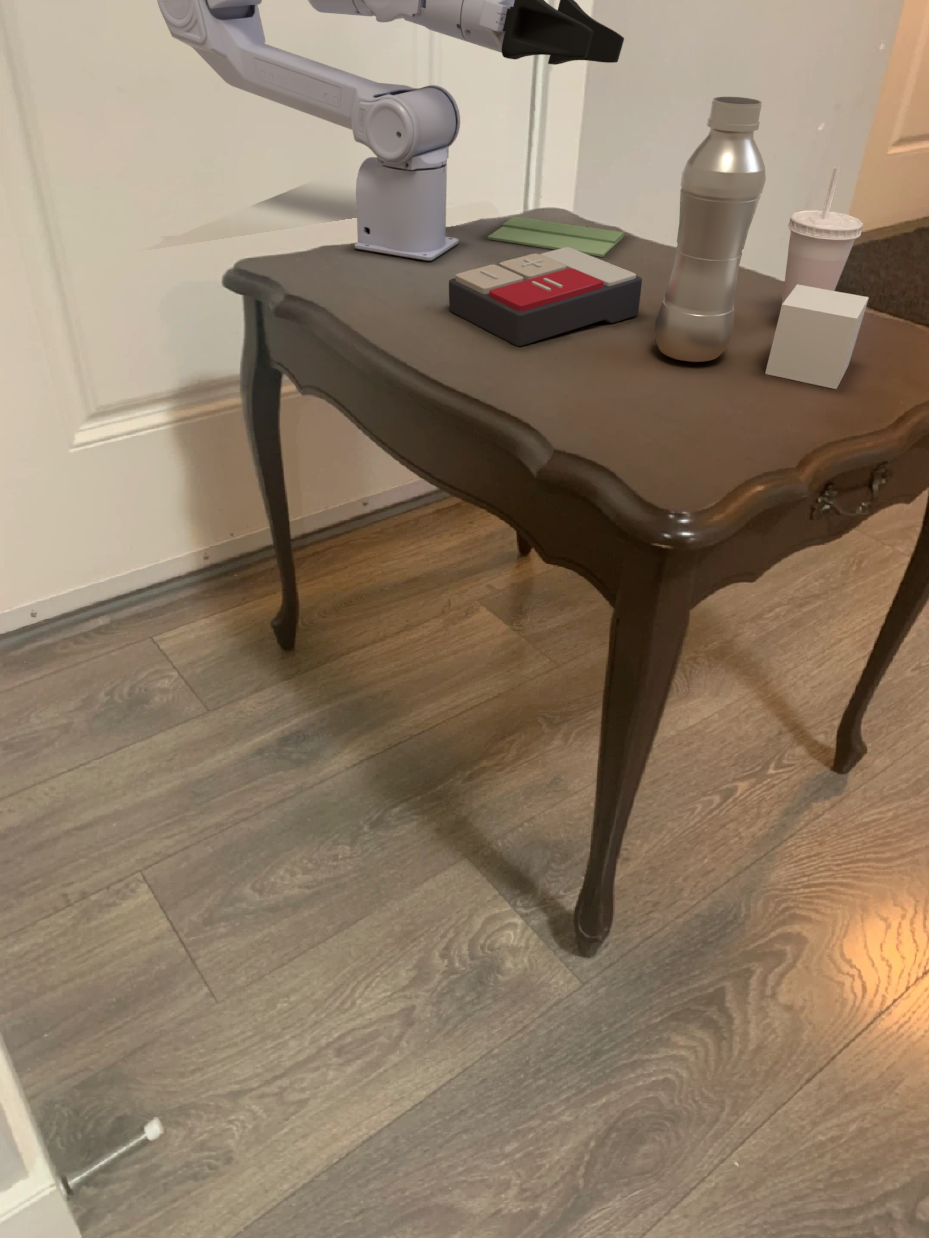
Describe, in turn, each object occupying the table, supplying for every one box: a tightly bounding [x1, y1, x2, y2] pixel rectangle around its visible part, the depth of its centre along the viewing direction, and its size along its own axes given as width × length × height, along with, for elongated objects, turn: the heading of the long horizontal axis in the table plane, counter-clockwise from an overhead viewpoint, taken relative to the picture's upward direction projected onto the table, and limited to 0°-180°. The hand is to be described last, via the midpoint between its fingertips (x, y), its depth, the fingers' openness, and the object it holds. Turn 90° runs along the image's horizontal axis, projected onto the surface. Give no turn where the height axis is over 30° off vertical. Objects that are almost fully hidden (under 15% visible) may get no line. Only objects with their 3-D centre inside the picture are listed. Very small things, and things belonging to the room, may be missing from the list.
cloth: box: [487, 215, 625, 258], centre depth 110 cm, size 14×9×1 cm, turn 67°
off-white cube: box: [764, 284, 870, 390], centre depth 79 cm, size 6×6×6 cm
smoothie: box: [781, 166, 864, 305], centre depth 85 cm, size 6×6×14 cm
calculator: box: [448, 247, 643, 347], centre depth 88 cm, size 11×4×15 cm
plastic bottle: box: [654, 96, 767, 363], centre depth 76 cm, size 6×7×20 cm
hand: (605, 47), depth 84 cm, fingers open, 7 cm apart
